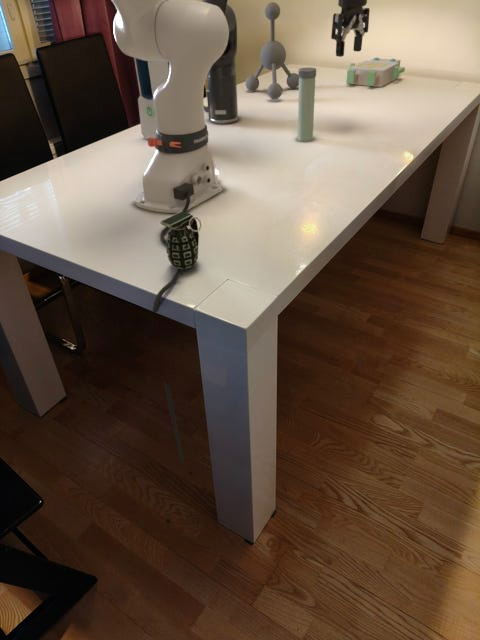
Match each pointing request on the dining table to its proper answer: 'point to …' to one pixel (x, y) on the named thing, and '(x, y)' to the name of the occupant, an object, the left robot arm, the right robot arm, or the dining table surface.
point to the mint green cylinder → (306, 108)
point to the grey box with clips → (374, 72)
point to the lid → (307, 72)
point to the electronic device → (149, 92)
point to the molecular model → (273, 59)
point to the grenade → (182, 240)
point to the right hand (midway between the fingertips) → (348, 53)
